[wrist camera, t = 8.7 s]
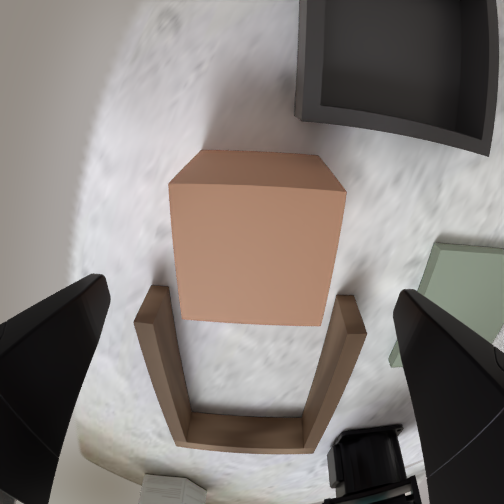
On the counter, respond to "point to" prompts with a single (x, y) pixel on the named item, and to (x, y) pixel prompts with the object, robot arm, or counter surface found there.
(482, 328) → the mat
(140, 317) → the stall
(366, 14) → the tray
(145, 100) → the counter surface
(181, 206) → the block
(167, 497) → the supplement box
